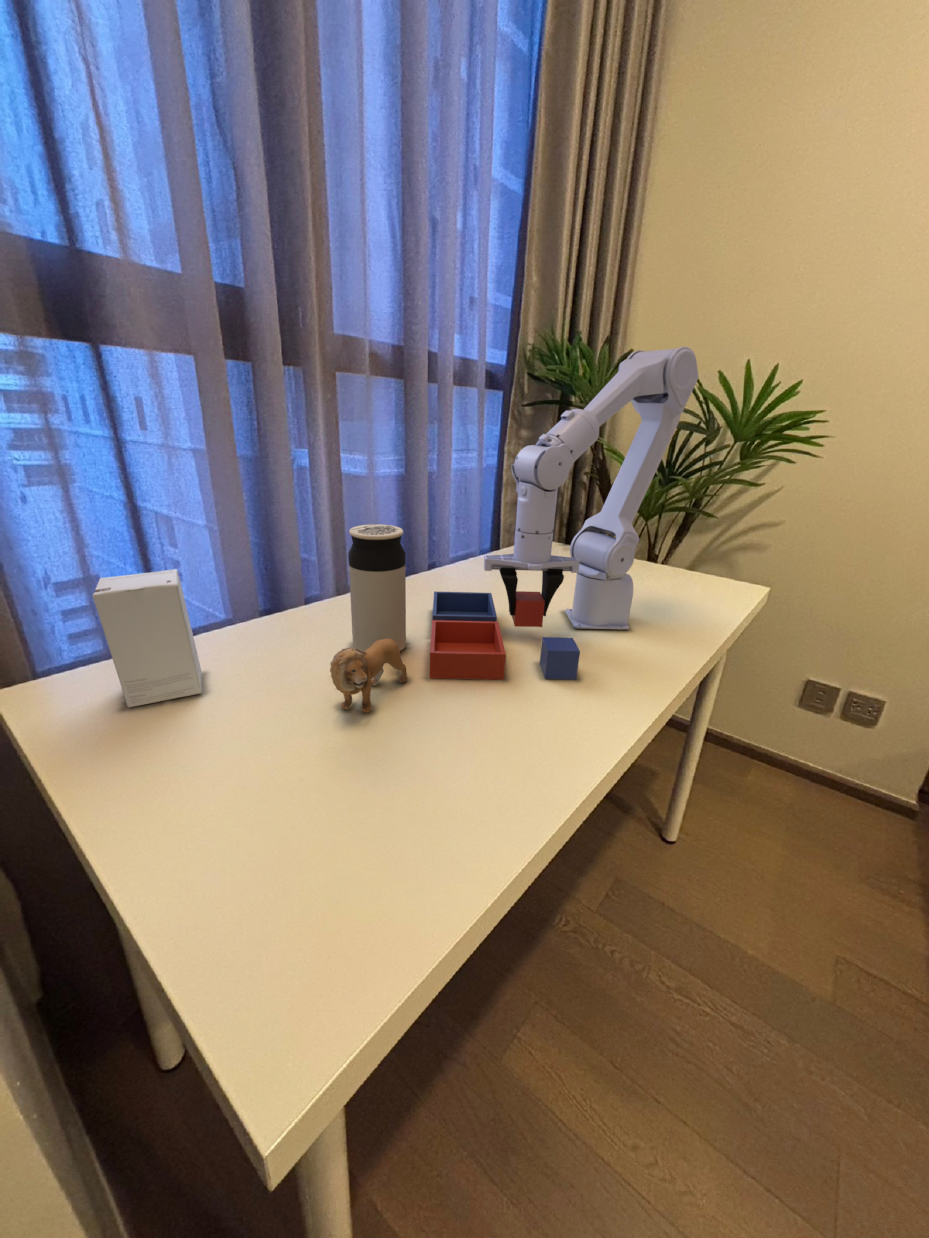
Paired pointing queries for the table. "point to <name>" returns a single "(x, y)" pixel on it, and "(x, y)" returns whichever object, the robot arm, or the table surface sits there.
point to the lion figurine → (364, 670)
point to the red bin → (466, 650)
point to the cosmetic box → (149, 636)
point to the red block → (528, 609)
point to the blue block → (559, 658)
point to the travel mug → (377, 585)
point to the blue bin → (463, 606)
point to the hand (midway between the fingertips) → (526, 613)
